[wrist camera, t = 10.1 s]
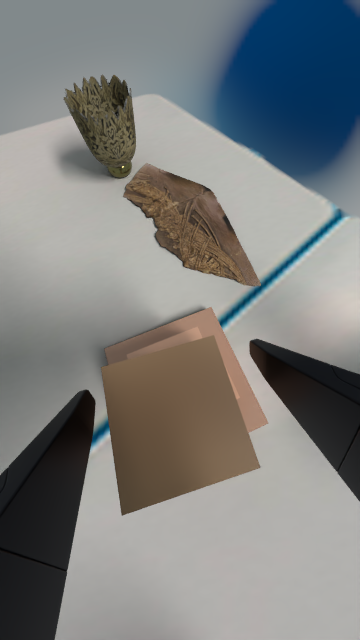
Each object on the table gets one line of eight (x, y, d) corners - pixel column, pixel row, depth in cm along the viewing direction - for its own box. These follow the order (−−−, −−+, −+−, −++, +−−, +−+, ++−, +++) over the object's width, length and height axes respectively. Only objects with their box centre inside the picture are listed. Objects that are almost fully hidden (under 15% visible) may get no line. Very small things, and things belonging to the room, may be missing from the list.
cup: (92, 163, 27) (57, 81, 20) (136, 150, 28) (118, 67, 20) (104, 195, 25) (70, 117, 18) (151, 180, 26) (138, 100, 18)
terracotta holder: (263, 420, 16) (297, 439, 11) (143, 477, 15) (125, 525, 10) (209, 310, 20) (218, 289, 15) (108, 349, 18) (82, 341, 14)
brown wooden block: (200, 394, 16) (260, 467, 4) (169, 404, 16) (121, 516, 3) (191, 363, 17) (214, 335, 5) (161, 371, 17) (101, 366, 4)
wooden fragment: (113, 182, 26) (110, 175, 25) (173, 155, 28) (173, 147, 27) (211, 315, 20) (213, 312, 19) (282, 270, 22) (287, 265, 20)
